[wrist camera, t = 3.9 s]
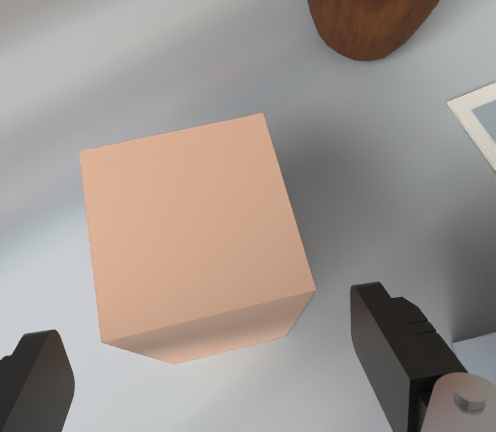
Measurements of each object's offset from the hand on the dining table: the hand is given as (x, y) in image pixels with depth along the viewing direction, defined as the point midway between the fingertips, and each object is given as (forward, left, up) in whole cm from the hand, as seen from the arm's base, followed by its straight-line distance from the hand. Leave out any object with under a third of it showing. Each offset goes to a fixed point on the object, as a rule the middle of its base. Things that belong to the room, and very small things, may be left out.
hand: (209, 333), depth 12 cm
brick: (-3, 0, -8) cm, 8 cm away
